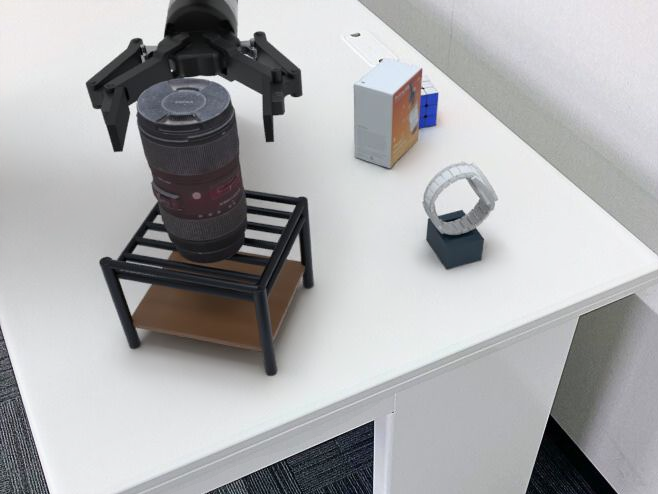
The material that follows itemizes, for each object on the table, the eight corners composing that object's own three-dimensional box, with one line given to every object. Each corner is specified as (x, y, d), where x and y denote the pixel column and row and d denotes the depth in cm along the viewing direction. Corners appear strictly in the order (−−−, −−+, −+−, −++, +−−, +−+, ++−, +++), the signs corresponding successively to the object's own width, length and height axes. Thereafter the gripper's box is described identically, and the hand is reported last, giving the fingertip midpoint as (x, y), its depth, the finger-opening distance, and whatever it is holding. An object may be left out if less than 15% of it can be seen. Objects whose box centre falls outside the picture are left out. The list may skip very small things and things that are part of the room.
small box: (390, 170, 96) (392, 95, 88) (353, 157, 98) (352, 83, 90) (419, 140, 100) (424, 66, 92) (383, 128, 102) (385, 55, 94)
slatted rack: (127, 347, 76) (96, 263, 67) (181, 259, 85) (160, 174, 76) (275, 376, 73) (262, 292, 64) (315, 281, 82) (309, 196, 73)
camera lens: (254, 265, 69) (232, 122, 58) (167, 273, 69) (128, 130, 57) (252, 211, 74) (232, 70, 63) (171, 218, 74) (136, 77, 63)
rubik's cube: (390, 112, 105) (391, 80, 101) (424, 107, 106) (426, 74, 102) (401, 131, 102) (403, 98, 98) (436, 125, 102) (438, 92, 99)
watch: (496, 256, 84) (510, 175, 76) (431, 273, 83) (439, 192, 74) (474, 226, 88) (485, 146, 80) (412, 242, 86) (416, 162, 78)
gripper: (319, 51, 83) (333, 160, 69) (94, 64, 82) (62, 178, 68) (316, -18, 77) (330, 86, 63) (74, -5, 76) (34, 103, 62)
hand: (191, 134), depth 66 cm, fingers open, 13 cm apart
